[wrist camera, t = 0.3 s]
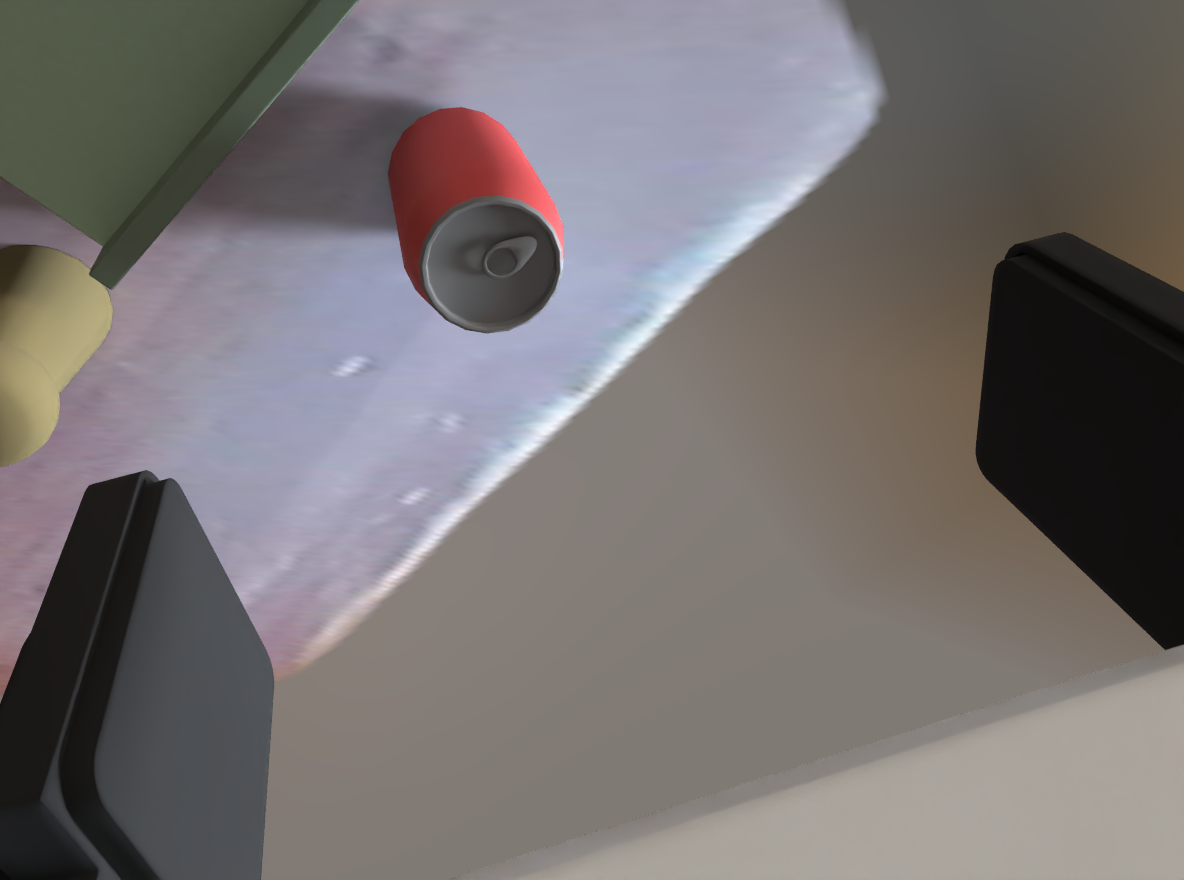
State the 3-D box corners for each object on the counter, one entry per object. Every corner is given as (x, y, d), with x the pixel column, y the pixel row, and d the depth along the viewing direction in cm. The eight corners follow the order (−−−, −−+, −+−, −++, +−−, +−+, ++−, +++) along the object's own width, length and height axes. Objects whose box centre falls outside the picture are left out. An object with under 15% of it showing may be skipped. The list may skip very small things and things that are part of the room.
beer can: (546, 194, 46) (605, 290, 37) (436, 262, 47) (466, 374, 37) (478, 76, 42) (522, 148, 33) (359, 151, 43) (368, 244, 33)
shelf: (-137, 21, 36) (-239, 62, 29) (87, -301, 33) (28, -335, 26) (144, 221, 42) (111, 291, 36) (356, -30, 39) (362, -3, 33)
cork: (-45, 337, 43) (-140, 468, 34) (-18, 224, 41) (-113, 333, 32) (95, 377, 46) (39, 509, 37) (127, 273, 44) (77, 387, 35)
